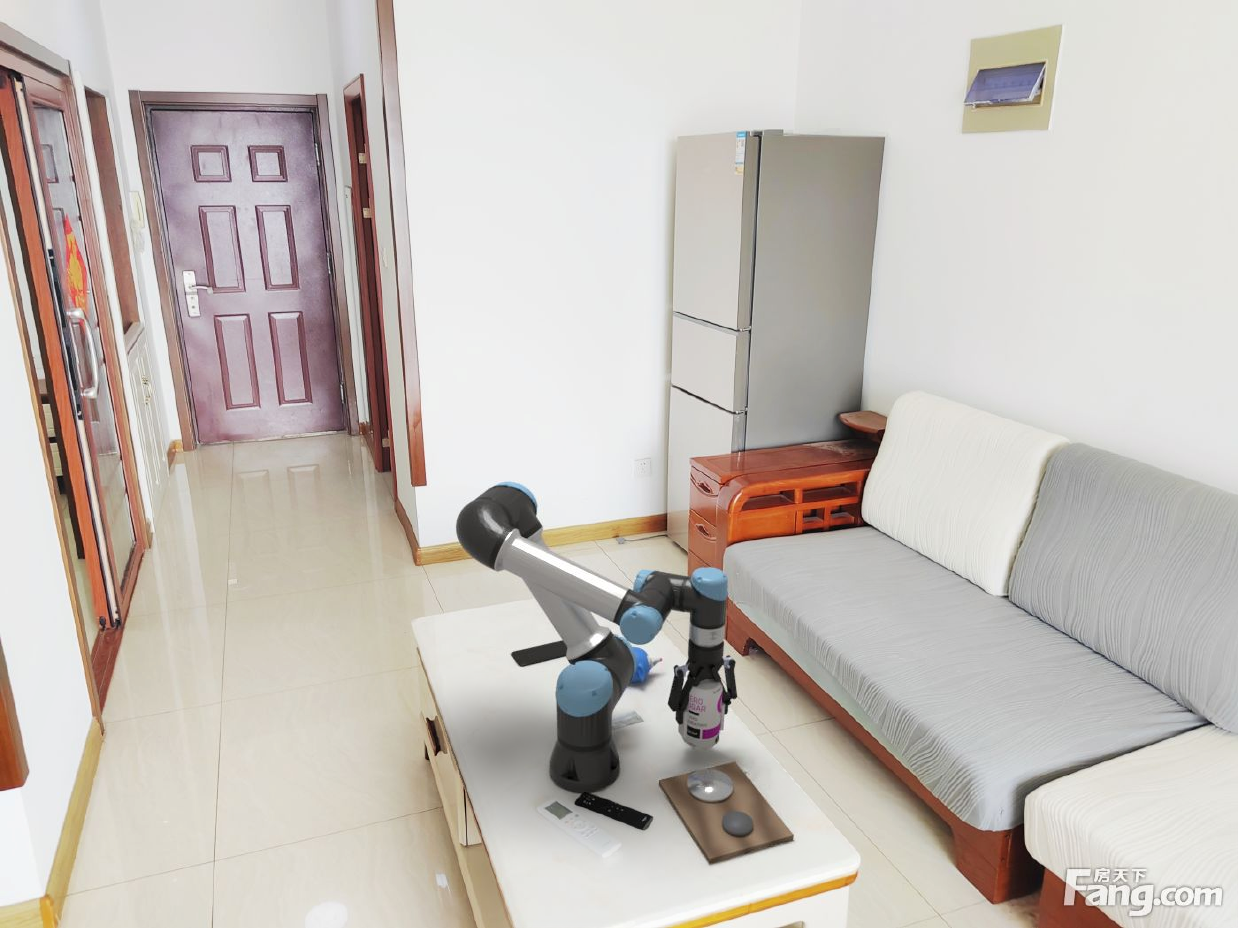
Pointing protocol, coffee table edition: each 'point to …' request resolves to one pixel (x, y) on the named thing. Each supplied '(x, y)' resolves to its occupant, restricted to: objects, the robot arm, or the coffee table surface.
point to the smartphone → (540, 653)
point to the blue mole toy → (643, 664)
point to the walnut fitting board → (708, 816)
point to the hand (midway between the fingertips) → (700, 730)
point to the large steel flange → (710, 786)
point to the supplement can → (704, 714)
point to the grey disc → (737, 823)
